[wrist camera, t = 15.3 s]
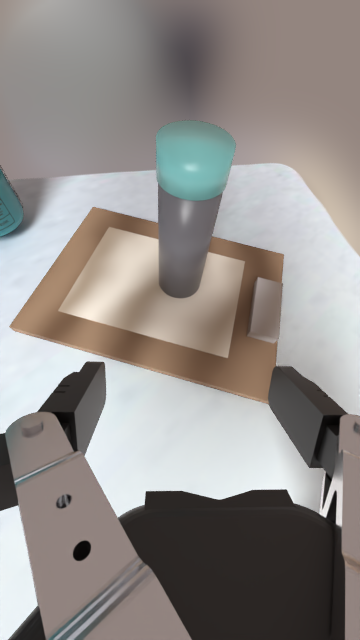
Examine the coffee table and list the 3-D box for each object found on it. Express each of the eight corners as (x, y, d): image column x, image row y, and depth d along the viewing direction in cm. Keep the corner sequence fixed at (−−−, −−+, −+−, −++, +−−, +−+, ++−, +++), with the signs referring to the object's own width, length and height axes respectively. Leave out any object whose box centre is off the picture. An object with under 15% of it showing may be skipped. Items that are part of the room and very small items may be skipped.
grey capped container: (151, 292, 22) (145, 151, 12) (164, 259, 24) (168, 114, 14) (195, 304, 22) (229, 170, 11) (204, 269, 24) (240, 129, 13)
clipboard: (14, 330, 20) (2, 321, 19) (94, 212, 28) (90, 198, 26) (268, 404, 19) (278, 400, 17) (280, 259, 27) (288, 247, 25)
